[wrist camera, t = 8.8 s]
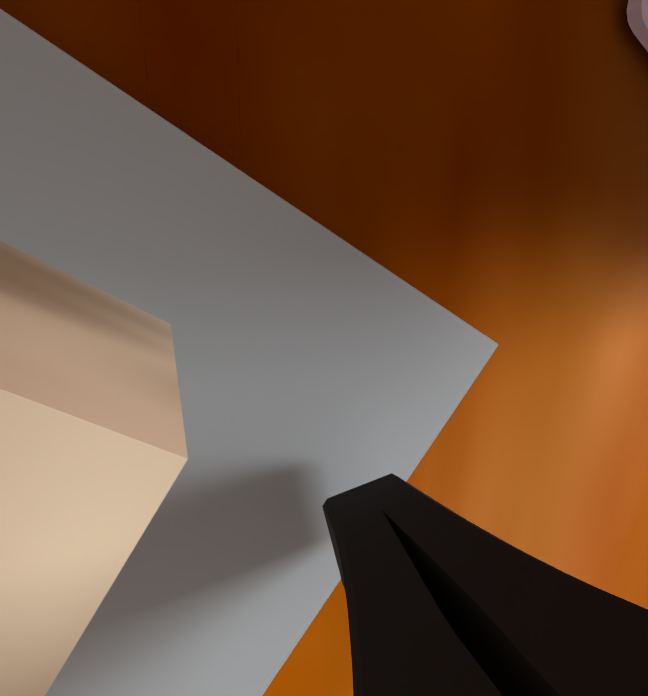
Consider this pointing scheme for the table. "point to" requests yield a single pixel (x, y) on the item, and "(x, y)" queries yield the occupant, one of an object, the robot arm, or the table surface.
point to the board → (222, 373)
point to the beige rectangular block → (74, 456)
